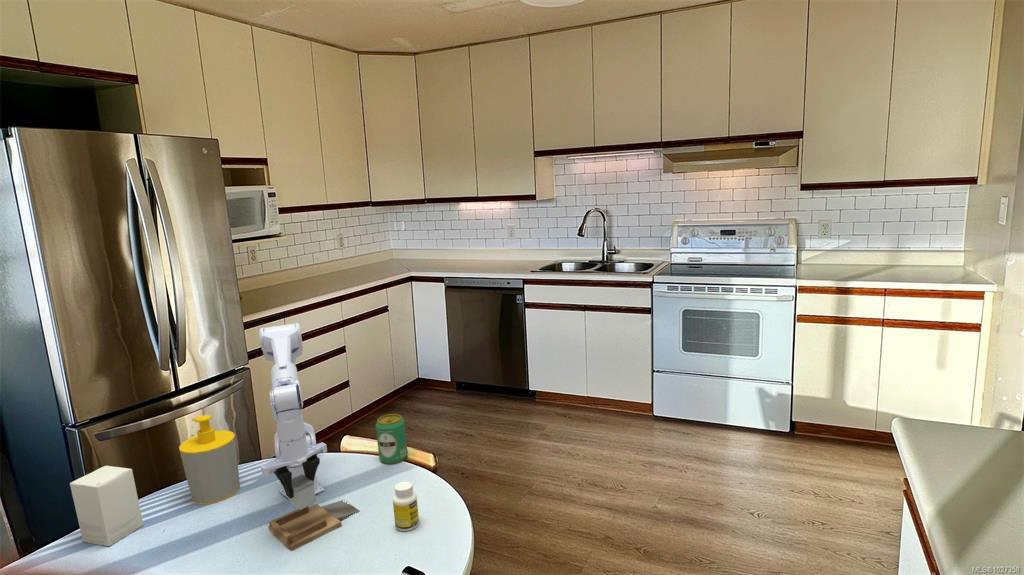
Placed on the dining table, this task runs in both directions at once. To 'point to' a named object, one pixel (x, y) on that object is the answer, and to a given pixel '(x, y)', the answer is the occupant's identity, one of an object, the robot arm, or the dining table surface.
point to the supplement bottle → (405, 507)
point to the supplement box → (106, 505)
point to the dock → (309, 523)
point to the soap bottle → (210, 463)
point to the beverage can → (391, 438)
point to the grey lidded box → (302, 492)
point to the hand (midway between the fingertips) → (300, 492)
